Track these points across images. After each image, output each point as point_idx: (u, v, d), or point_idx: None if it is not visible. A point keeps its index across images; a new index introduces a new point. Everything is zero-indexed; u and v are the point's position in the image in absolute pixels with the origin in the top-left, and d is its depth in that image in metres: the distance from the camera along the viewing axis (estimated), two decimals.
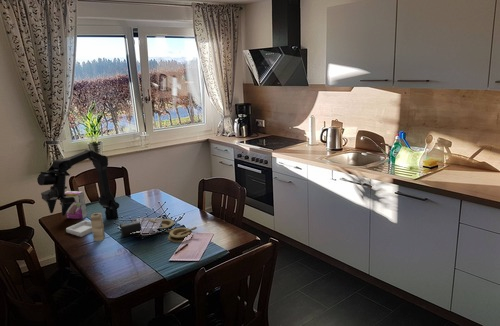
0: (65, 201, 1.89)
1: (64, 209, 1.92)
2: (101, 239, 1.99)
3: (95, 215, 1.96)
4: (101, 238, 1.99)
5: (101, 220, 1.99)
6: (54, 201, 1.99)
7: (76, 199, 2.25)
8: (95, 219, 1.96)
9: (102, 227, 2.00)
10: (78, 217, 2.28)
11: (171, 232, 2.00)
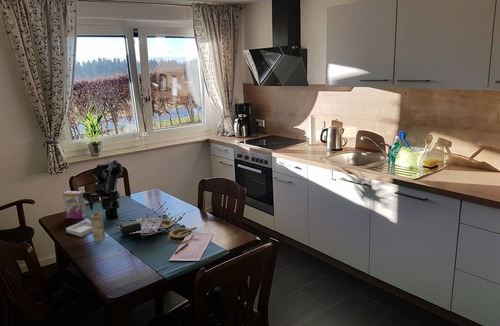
0: (117, 192, 2.08)
1: (111, 202, 2.08)
2: (101, 239, 1.99)
3: (95, 215, 1.96)
4: (101, 238, 1.99)
5: (101, 220, 1.99)
6: (92, 201, 2.10)
7: (76, 199, 2.25)
8: (95, 219, 1.96)
9: (102, 227, 2.00)
10: (78, 217, 2.28)
11: (171, 232, 2.00)
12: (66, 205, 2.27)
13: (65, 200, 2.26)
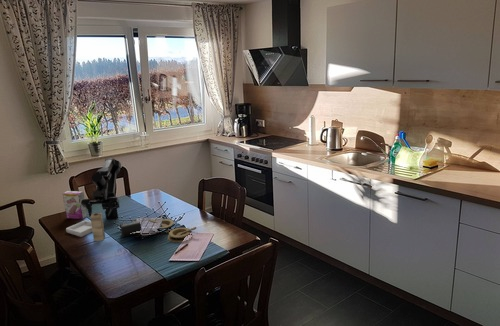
0: (116, 199, 2.05)
1: (110, 209, 2.04)
2: (101, 239, 1.99)
3: (95, 215, 1.96)
4: (101, 238, 1.99)
5: (101, 220, 1.99)
6: (91, 208, 2.06)
7: (76, 199, 2.25)
8: (95, 219, 1.96)
9: (102, 227, 2.00)
10: (78, 217, 2.28)
11: (171, 232, 2.00)
12: (66, 205, 2.27)
13: (65, 200, 2.26)
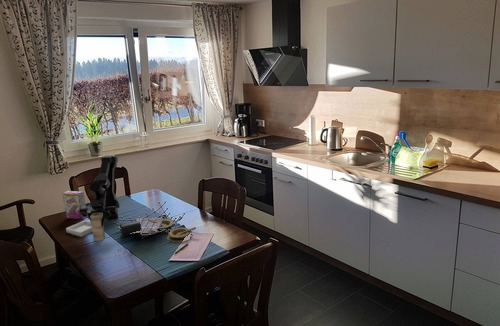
0: (114, 208, 2.01)
1: (104, 219, 2.00)
2: (101, 239, 1.99)
3: (95, 215, 1.96)
4: (101, 238, 1.99)
5: (101, 220, 1.99)
6: None
7: (76, 199, 2.25)
8: (95, 219, 1.96)
9: (102, 227, 2.00)
10: (78, 217, 2.28)
11: (170, 232, 2.00)
12: (66, 205, 2.27)
13: (65, 200, 2.26)
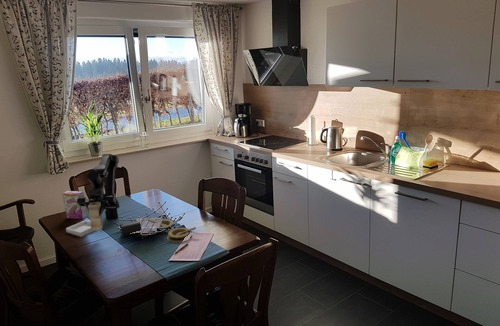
0: (112, 198, 2.00)
1: (102, 209, 1.99)
2: (99, 229, 1.98)
3: (93, 204, 1.95)
4: (99, 228, 1.98)
5: (99, 209, 1.97)
6: None
7: (76, 199, 2.25)
8: (93, 208, 1.94)
9: (100, 217, 1.98)
10: (78, 217, 2.28)
11: (170, 232, 2.00)
12: (66, 205, 2.27)
13: (65, 200, 2.26)
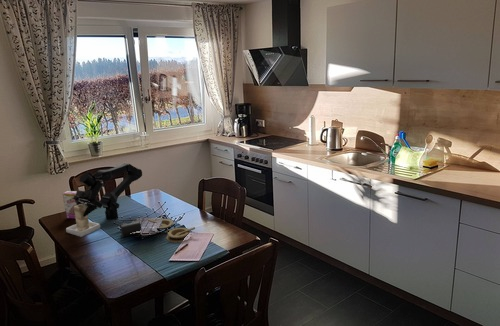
0: (94, 202, 2.06)
1: (87, 210, 2.08)
2: (81, 230, 2.10)
3: (77, 206, 2.08)
4: (81, 229, 2.09)
5: (83, 212, 2.09)
6: None
7: None
8: (77, 210, 2.07)
9: (84, 219, 2.10)
10: None
11: (169, 232, 2.00)
12: (66, 205, 2.27)
13: (65, 200, 2.26)
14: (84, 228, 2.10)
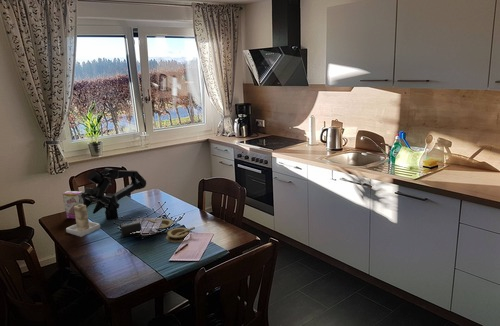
0: (102, 199, 2.10)
1: (97, 208, 2.12)
2: (81, 230, 2.10)
3: (77, 206, 2.08)
4: (81, 229, 2.09)
5: (83, 212, 2.09)
6: (89, 202, 2.20)
7: (76, 199, 2.25)
8: (77, 210, 2.07)
9: (84, 219, 2.10)
10: None
11: (169, 232, 2.00)
12: (66, 205, 2.27)
13: (65, 200, 2.26)
14: (84, 228, 2.10)
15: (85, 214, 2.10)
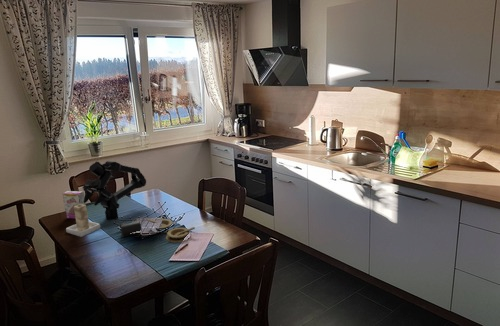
0: (104, 191, 2.11)
1: (98, 199, 2.12)
2: (81, 230, 2.10)
3: (77, 206, 2.08)
4: (81, 229, 2.09)
5: (83, 212, 2.09)
6: (91, 194, 2.20)
7: (76, 199, 2.25)
8: (77, 210, 2.07)
9: (84, 219, 2.10)
10: None
11: (169, 232, 2.00)
12: (66, 205, 2.27)
13: (65, 200, 2.26)
14: (84, 228, 2.10)
15: (85, 214, 2.10)
